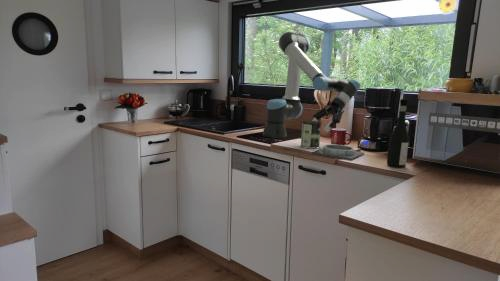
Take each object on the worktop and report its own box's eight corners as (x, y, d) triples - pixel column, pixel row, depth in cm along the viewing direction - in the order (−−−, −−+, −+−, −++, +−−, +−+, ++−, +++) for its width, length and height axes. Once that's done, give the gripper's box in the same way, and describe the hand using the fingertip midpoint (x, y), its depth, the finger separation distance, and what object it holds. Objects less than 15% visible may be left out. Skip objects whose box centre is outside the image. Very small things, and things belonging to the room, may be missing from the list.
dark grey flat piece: (327, 148, 198) (327, 142, 197) (364, 154, 187) (364, 147, 186) (312, 153, 181) (312, 147, 181) (351, 160, 170) (352, 153, 170)
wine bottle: (407, 166, 165) (415, 99, 160) (403, 169, 158) (412, 100, 153) (388, 163, 169) (396, 98, 164) (384, 165, 163) (392, 98, 158)
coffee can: (319, 146, 204) (321, 121, 202) (319, 149, 194) (321, 123, 192) (300, 144, 206) (302, 119, 204) (299, 147, 196) (301, 121, 194)
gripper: (359, 108, 195) (336, 137, 190) (328, 104, 216) (306, 130, 211) (353, 98, 191) (329, 127, 186) (322, 95, 212) (299, 121, 208)
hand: (317, 129), depth 199 cm, fingers open, 13 cm apart
